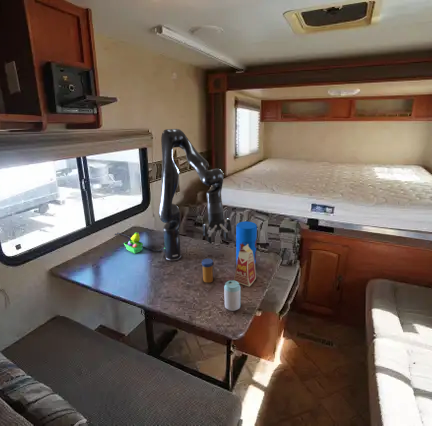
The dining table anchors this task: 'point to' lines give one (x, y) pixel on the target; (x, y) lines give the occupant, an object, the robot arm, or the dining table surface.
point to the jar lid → (207, 262)
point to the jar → (208, 274)
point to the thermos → (246, 237)
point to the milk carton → (245, 267)
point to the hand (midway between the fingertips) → (218, 241)
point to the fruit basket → (134, 244)
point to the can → (232, 295)
